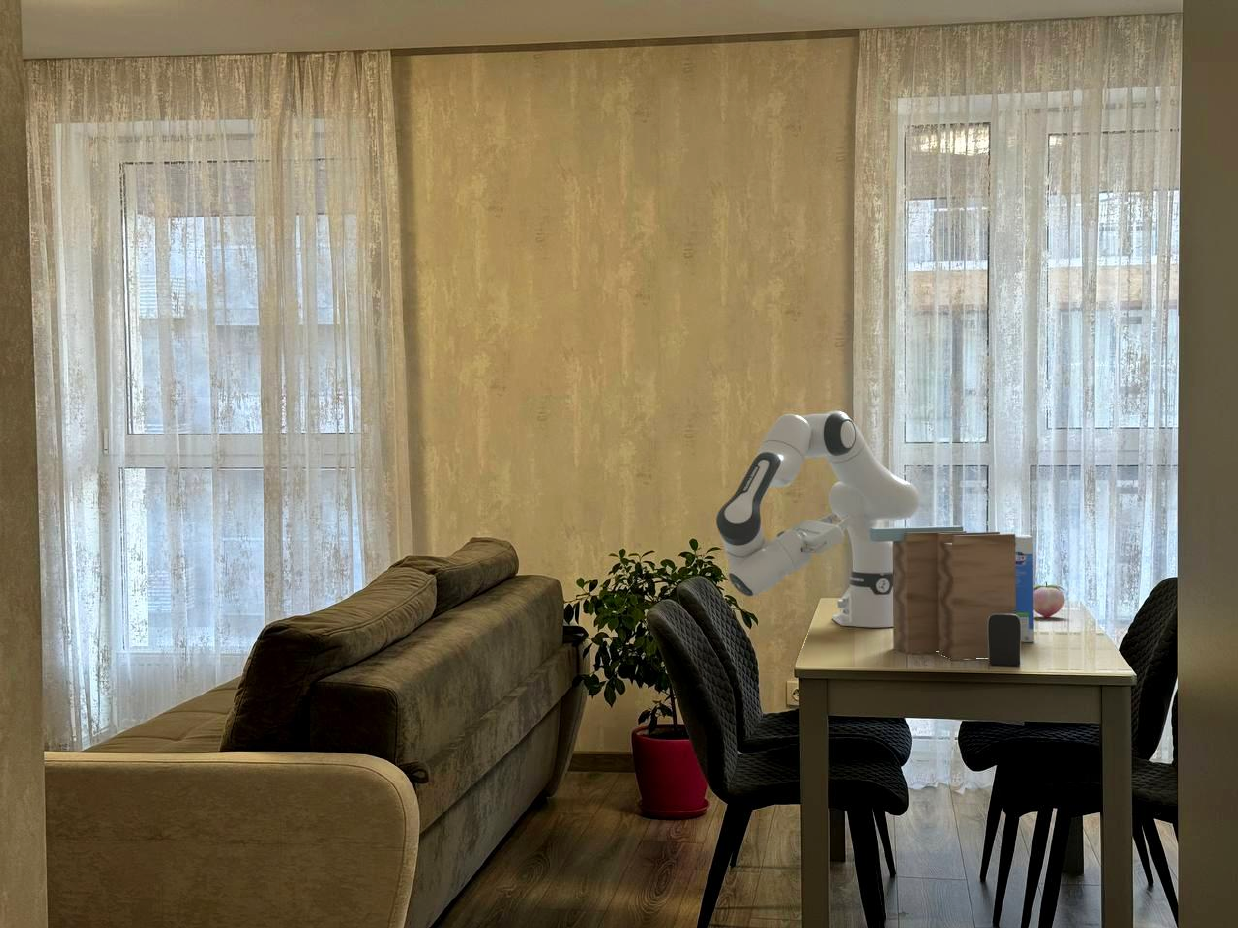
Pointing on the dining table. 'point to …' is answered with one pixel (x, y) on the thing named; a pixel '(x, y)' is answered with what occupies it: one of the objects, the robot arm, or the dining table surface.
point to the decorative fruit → (1047, 599)
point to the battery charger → (1004, 639)
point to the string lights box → (1024, 585)
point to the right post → (973, 589)
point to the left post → (916, 592)
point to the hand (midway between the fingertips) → (843, 517)
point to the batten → (899, 532)
